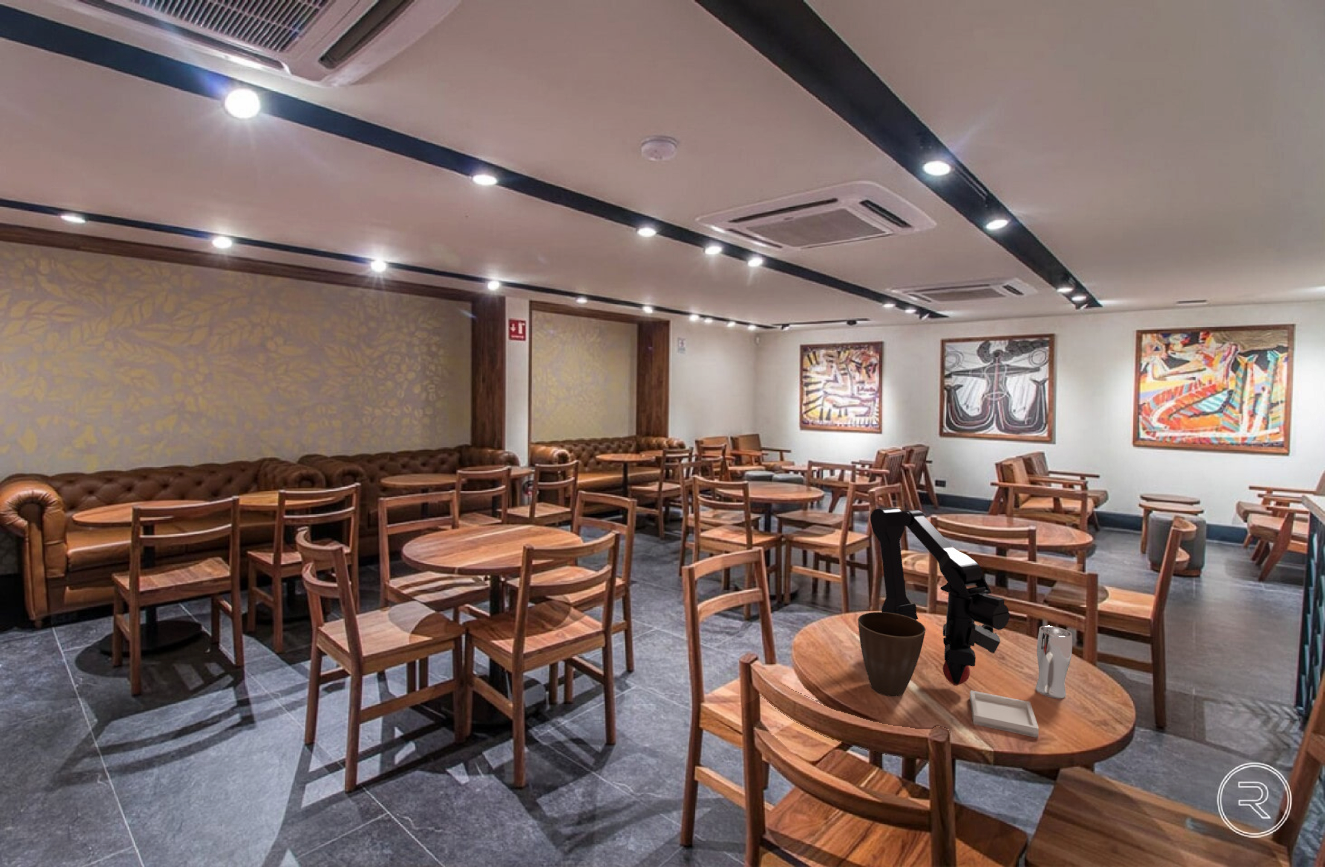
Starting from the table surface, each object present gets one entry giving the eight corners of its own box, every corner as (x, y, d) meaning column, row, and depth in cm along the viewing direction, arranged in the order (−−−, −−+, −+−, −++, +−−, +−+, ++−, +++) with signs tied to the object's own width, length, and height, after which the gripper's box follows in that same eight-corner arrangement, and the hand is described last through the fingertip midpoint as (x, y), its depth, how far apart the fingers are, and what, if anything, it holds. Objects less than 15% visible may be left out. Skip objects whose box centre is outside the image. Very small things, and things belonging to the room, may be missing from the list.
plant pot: (922, 710, 139) (927, 640, 137) (852, 697, 144) (856, 629, 142) (920, 681, 152) (924, 617, 151) (856, 670, 158) (859, 608, 156)
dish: (973, 723, 134) (973, 714, 134) (969, 698, 145) (970, 690, 145) (1038, 737, 129) (1038, 728, 129) (1029, 710, 140) (1029, 701, 140)
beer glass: (1073, 701, 145) (1078, 638, 144) (1040, 697, 146) (1045, 635, 145) (1060, 687, 152) (1065, 627, 150) (1029, 683, 153) (1033, 623, 152)
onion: (967, 693, 145) (969, 660, 144) (940, 686, 148) (942, 654, 147) (970, 683, 149) (972, 651, 149) (943, 677, 153) (946, 645, 152)
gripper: (1003, 634, 135) (998, 703, 137) (995, 606, 153) (990, 668, 154) (947, 625, 140) (942, 692, 141) (944, 599, 157) (940, 659, 158)
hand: (955, 677), depth 148 cm, fingers closed on onion, 6 cm apart
